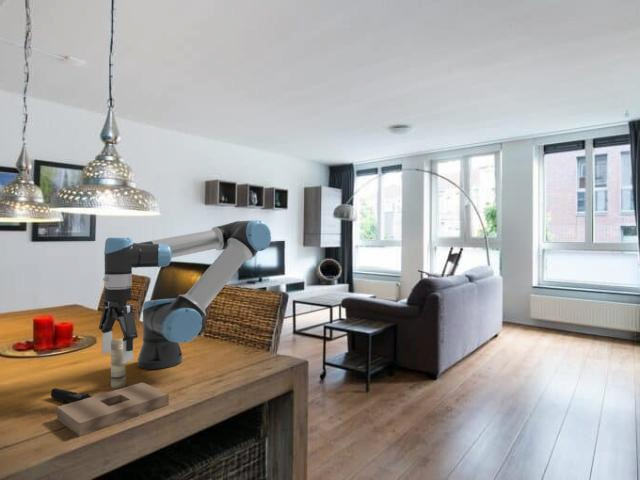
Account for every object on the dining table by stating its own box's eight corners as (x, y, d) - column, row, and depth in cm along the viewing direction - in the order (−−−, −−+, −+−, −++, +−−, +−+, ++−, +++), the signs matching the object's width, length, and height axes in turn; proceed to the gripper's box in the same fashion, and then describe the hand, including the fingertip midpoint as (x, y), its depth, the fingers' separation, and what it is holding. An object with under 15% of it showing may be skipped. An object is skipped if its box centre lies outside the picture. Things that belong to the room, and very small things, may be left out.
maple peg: (122, 382, 125) (122, 337, 125) (128, 385, 122) (128, 339, 122) (108, 386, 122) (108, 340, 122) (114, 389, 119) (114, 342, 119)
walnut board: (142, 392, 117) (142, 382, 117) (168, 405, 108) (168, 394, 108) (57, 418, 100) (57, 406, 99) (79, 436, 91) (79, 423, 91)
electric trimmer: (60, 396, 115) (60, 385, 115) (97, 404, 109) (96, 393, 109) (47, 401, 112) (46, 389, 112) (83, 410, 105) (83, 398, 105)
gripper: (87, 285, 127) (87, 352, 127) (125, 292, 111) (124, 368, 111) (112, 283, 133) (111, 347, 132) (150, 290, 117) (149, 362, 117)
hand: (117, 357), depth 122 cm, fingers open, 13 cm apart
